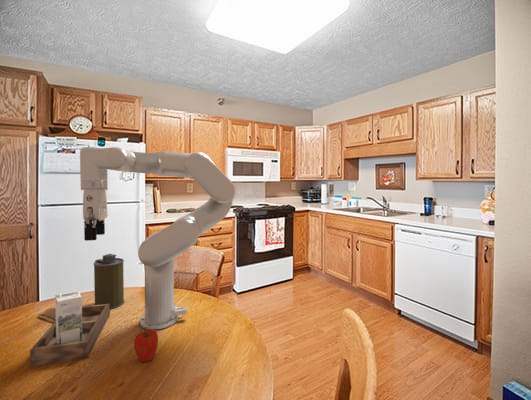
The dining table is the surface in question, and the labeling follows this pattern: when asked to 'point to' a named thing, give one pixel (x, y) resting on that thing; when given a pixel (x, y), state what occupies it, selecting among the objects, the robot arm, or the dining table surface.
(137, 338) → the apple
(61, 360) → the tray
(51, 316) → the shard
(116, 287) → the canister
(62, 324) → the syrup box
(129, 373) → the dining table surface
